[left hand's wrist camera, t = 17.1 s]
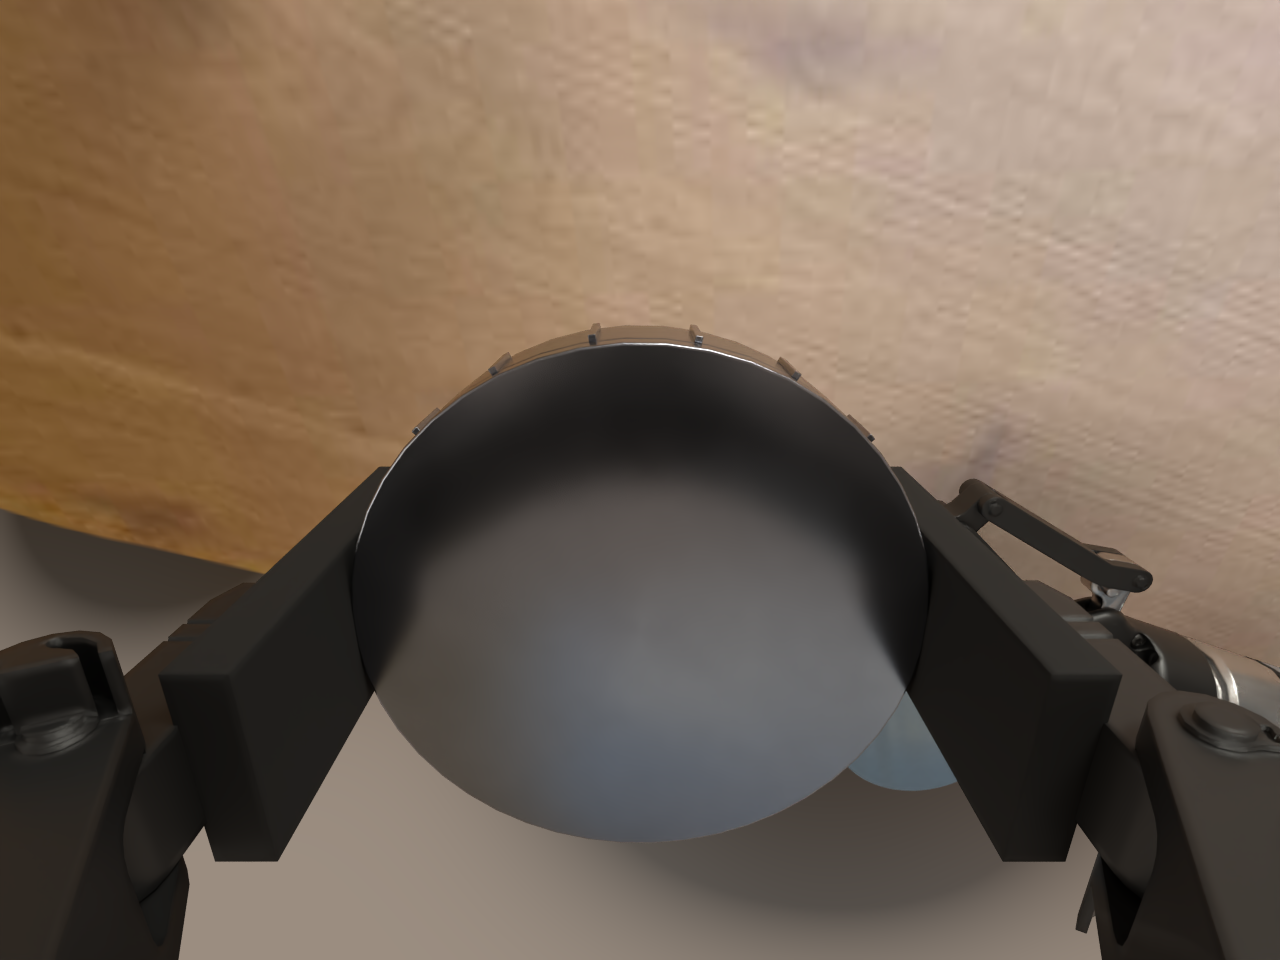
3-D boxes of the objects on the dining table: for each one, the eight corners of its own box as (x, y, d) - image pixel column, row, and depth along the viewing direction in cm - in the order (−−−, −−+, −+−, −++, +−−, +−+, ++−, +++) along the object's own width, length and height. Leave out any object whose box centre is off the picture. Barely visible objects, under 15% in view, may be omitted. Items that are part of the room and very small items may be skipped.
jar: (748, 603, 42) (802, 795, 28) (766, 478, 39) (838, 623, 25) (880, 611, 42) (1000, 806, 28) (908, 488, 39) (1059, 637, 25)
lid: (935, 712, 13) (974, 777, 11) (501, 820, 14) (483, 894, 12) (837, 241, 10) (873, 244, 8) (290, 423, 11) (234, 456, 9)
